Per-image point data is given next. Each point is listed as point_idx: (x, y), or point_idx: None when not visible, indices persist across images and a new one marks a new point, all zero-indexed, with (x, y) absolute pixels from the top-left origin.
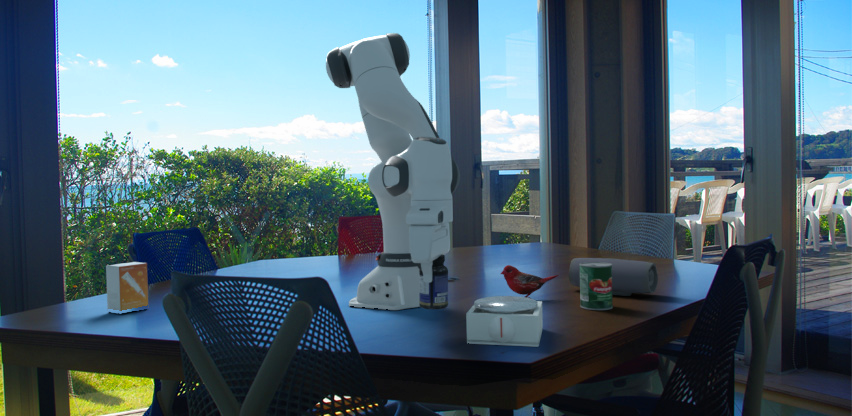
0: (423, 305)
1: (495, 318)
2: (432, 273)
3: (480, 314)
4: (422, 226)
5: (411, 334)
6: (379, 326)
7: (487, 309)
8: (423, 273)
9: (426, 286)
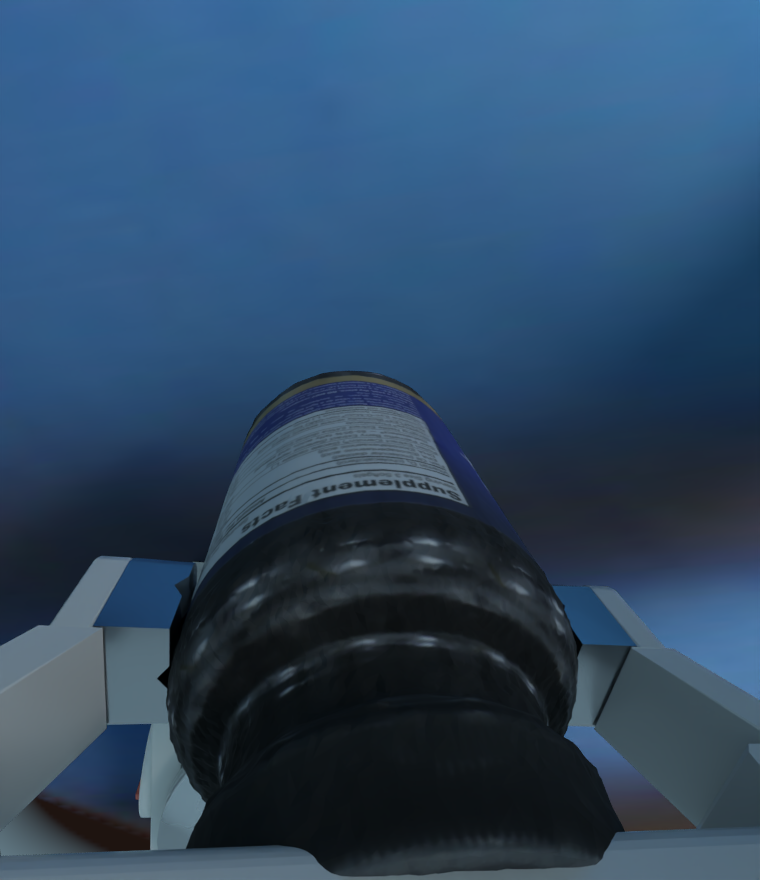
0: (259, 415)
1: (142, 772)
2: (106, 725)
3: (153, 729)
4: None
5: (348, 275)
6: (559, 10)
7: (182, 774)
8: (35, 634)
9: (216, 526)
